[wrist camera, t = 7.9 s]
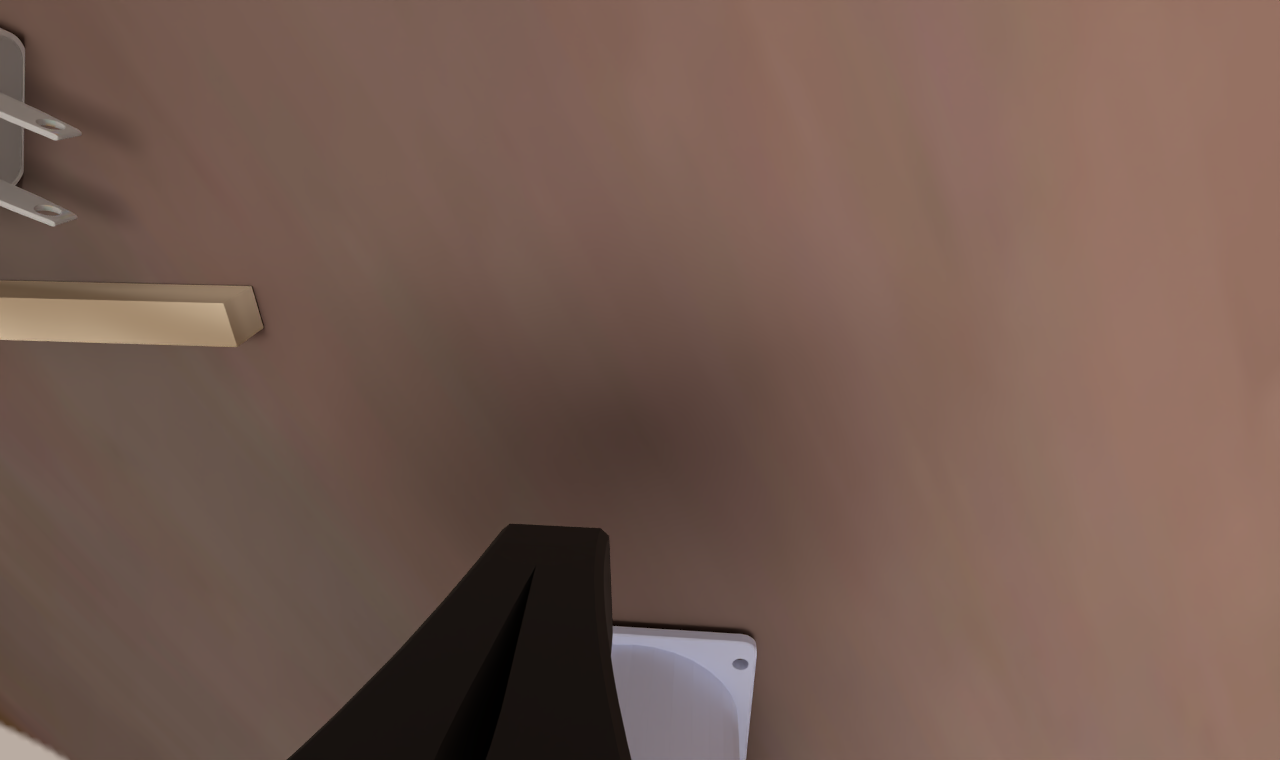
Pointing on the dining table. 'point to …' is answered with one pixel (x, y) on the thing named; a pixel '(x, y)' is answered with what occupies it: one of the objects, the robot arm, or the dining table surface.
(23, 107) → the usb wall charger
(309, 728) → the dining table surface
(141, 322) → the charger bay
